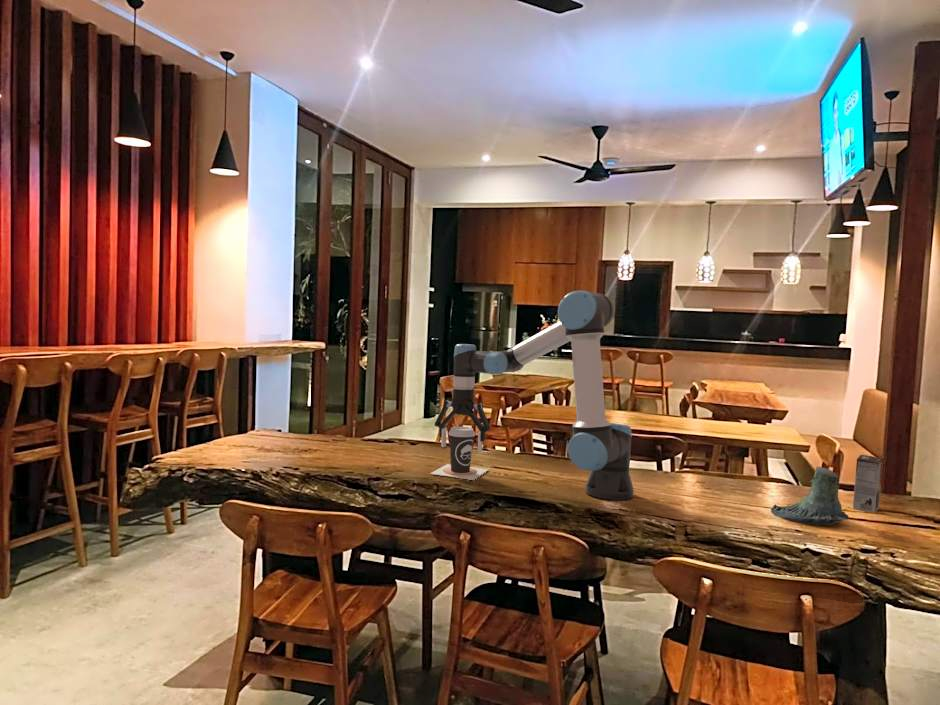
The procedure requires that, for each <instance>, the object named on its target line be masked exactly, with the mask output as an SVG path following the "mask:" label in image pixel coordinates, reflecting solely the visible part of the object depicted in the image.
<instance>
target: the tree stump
mask: <svg viewBox="0 0 940 705" xmlns="http://www.w3.org/2000/svg"><path fill="white" fill-rule="evenodd" d="M839 483H840V477H839V475H838V474H837V473H836V472H834V471H832V470H831V469H828V468H826V467H823V466H822V467H821V466H816V467H815V472H814V476H813V477H812V479H810V481H809V484H810V488H809V490H808V494H806V495H804V496H803V497H801V500H799V501H798V502H795V503H793V504H792V505H789V504H788V505H786V506H779V505H777V504H774V505H773V506H772V507H771V509H770V513H771V514H773V516H776V517H778V518H780V519H782V520H786V521H789V522H793V523H799V524H800V523H801V524H806V525H814V526H822V527H823V526H824V527H829V526H831V525H833V524H835V523H837V522H842V521H846V520H849V515H848V514H846V511H844V510H843V508H842V504H841V501H840V500H839V489H840V484H839Z"/></svg>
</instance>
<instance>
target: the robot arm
mask: <svg viewBox="0 0 940 705" xmlns="http://www.w3.org/2000/svg"><path fill="white" fill-rule="evenodd" d="M614 314H615V306H614V304H613V302H612V300H611V299H610V297H609V296H607V295H605V294H604V293H600V292H594V291H588V290H586V289H585V290H583V289H582V290H573V291H571V292H568V293H566V295H564V296H563V298H561V300H560V302H559V304H558V307H557V318H558V320H559V321H558V322H555V323H554V324H552V325H550V326H548V327H546V328H545V329H542V330H541V331H539V332H538V333H535V334H534V335H532V336H530V337H528V338H527V339H525V340H523V341H521V342H520V343H518V344H516V345H514V346H513V347H511V348H509V349H507V350H500V351H498V350H496V351H494V350H493V351H492V350H491V351H489V350H488V351H487V350H477V347H476V346H477V345H475V344H468V343H458V344H456V345H455V346H454V351H453V352H454V353H453V378H452V379H453V380H452V381H453V382H452V387H453V389H452V401H450V400H444V401H443V405H442V409H441V411H440V413H439V414H438V416H437V418H436V420H435V422H434V423H433V424H434V427H438V429H439V431H438V432H439V434H438V436H439V438H441V441H440V442H441V445H440V447H441V448H445V447H446V446H447V434H448V432H447V431H448V428H447V427H446V426H447V425H448V423H449V422H451V420H452V419H453V418H454V417H455V415H458V416H461V415H462V416H468V417H469V418H470V419H471V420H472V422H473V423H474V425H475V426H476V427H477V429H478V430H479V431H478V432H477V452H481V451H483V442H485V441H486V433H487V432H489V431H491V429H492V427H491V425H490V423H489V421H488V418H487V416H486V413H485V411H484V404H483V403H482V402H480V403H475V380H476V373H480V374H487V375H491V376H492V375H493V376H494V375H502V374H503V373H515V372H519V371H520V370H522V369H523V368H524V366H525V365H526V364H528V363H530V362H532V361H535V360H536V359H539V358H540V357H542V356H545V355H546V354H548V353H550V352H552V351H554V350H556V349H558V348H560V347H561V346H563V345H565V344H568V343H569V342H570V343H571V345H570V346H571V356H572V359H571V360H572V369H573V370H572V373H573V382H574V396H575V397H574V398H575V400H574V401H575V410H576V420H575V422H574V423H573V424H572V427H571V428H572V437H570V440H569V442H568V443H567V454H568V457H569V459H570V461H571V462H572V463H573V465H575V466H576V467H577V468H578V469H581V470H582V471H586V472H590V473H589V476H588V478H587V480H586V483H585V491H586V492H585V493H586V494H587V493H588V494H589V496H590V495H592V496H591V497H593V496H595V497H594V498H596V497H598V498H597V499H600V498H603V499H602V500H606V499H614V500H613V501H626V500H625V499H628V500H631V499H633V498H634V492H635V491H634V486H633V482H632V477H631V475H630V464H631V451H632V450H631V449H632V438H633V435H632V427H631V426H629V425H626V424H621V423H614V422H610V421H609V420H608V419H607V418H606V409H605V408H606V407H605V406H606V405H605V395H604V394H605V393H604V380H603V367H602V353H601V352H602V351H601V338H602V337H603V336H604V335H605V328H606V327H607V326H609V325H610V324H611V323H612V320H613V319H614ZM450 407H452V408H453V409H452V410H451V412H450V413H449V414H448V415H447V416H446V418H445V415H446V414H447V412H448V409H449V408H450ZM474 409H475V410H476V411H477V413H478V415H479V416H477V414H476V412H475V411H474ZM478 417H480V419H479V418H478ZM444 418H445V419H444ZM588 494H587V495H588ZM632 497H633V498H632ZM630 498H631V499H630Z"/></svg>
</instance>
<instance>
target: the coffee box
mask: <svg viewBox="0 0 940 705" xmlns="http://www.w3.org/2000/svg"><path fill="white" fill-rule="evenodd" d="M883 463H884V458H883V457H877V456H872V455H865V454H860V455H859V456H858V457H857V458H856V464H855V465H856V466H855V467H856V468H855V479H854V488H853V490H854V491H853V500H852V510H857V511H860V512H861V511H862V512H867V513H872V514H876V513H877V511H878V509H879V508H880V506H881V505H880V504H881V492H882V491H881V490H882V476H883V467H884V466H883Z"/></svg>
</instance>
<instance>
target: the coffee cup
mask: <svg viewBox="0 0 940 705" xmlns="http://www.w3.org/2000/svg"><path fill="white" fill-rule="evenodd" d="M447 435H449V436H448V437H449V448H450V449H449V450H450V451H449V452H450V454H449V456H450V457H449V458H450V464H451V471H452V472H455V473H467V472H469V471H470V467H471V461H472V453H473V446H474V439H475V436H476V433H475V431H474V428H473V427H469V426H452V427H450V430H449V431H448V432H447Z"/></svg>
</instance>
